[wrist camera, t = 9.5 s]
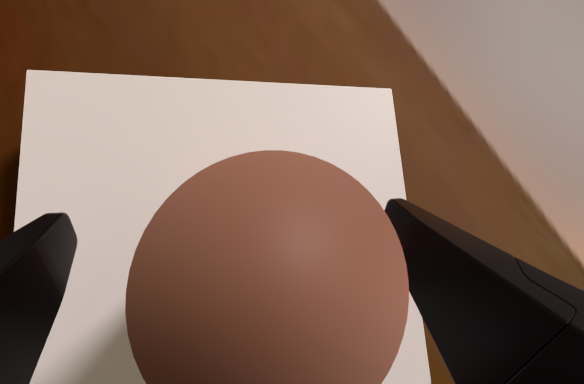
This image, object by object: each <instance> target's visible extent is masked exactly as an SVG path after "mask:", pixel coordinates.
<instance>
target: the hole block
mask: <svg viewBox="0 0 584 384" xmlns="http://www.w3.org/2000/svg"><path fill="white" fill-rule="evenodd" d="M264 150H283V151H291V152H298V153H302V154H306V155H310V156H314V157H317V158H319V159H321V160H324V161H326V162H329V163H331V164H333V165H335V166H336V167H338V168H340V169H342V170H344V171H345V172H346V173H348V174H349V175H351V176H352V177H353V178H355V179H356V180H357V181H359V182H360V183H361V184H362V185H363V186H364V187H365V188H366V189H367V190H368V191H369V192H370V193H371V194H372V195H373V197H374V198H375V199H376V200H377V201H378V202H379V204H380V205H381V207H382V208H383V210H385V207H386V204H387V202H388V201H389V200H390V199H395V198H402V199H404V200H406V194H405V186H404V179H403V172H402V164H401V157H400V149H399V142H398V134H397V127H396V120H395V112H394V105H393V97H392V90H391V89H385V88H366V87H347V86H327V85H308V84H289V83H270V82H251V81H232V80H213V79H193V78H174V77H155V76H136V75H117V74H98V73H79V72H59V71H40V70H27V76H26V88H25V100H24V113H23V125H22V137H21V149H20V162H19V174H18V186H17V199H16V211H15V223H14V232H15V231H16V230H18V229H20V228H21V227H23V226H25V225H27V224H28V223H30V222H32V221H33V220H35V219H37V218H39V217H40V216H42V215H44V214H46V213H58V212H64V213H66V214H67V215H68V216H69V218H70V220H71V223H72V225H73V228H74V230H75V233H76V235H77V248H76V252H75V256H74V259H73V263H72V267H71V271H70V275H69V279H68V283H67V286H66V290H65V294H64V297H63V300H62V303H61V306H60V308H59V311H58V313H57V316H56V318H55V321H54V323H53V326H52V328H51V331H50V333H49V336H48V338H47V341H46V343H45V346H44V348H43V351H42V353H41V356H40V358H39V361H38V363H37V366H36V368H35V371H34V373H33V376H32V378H31V381H30V383H29V384H146V382H145V381H144V379H143V377H142V375H141V373H140V371H139V368H138V366H137V364H136V361H135V359H134V357H133V353H132V349H131V345H130V342H129V338H128V332H127V324H126V315H125V306H126V288H127V281H128V275H129V270H130V266H131V263H132V260H133V256H134V253H135V250H136V248H137V245H138V243H139V241H140V239H141V237H142V234H143V232H144V230H145V229H146V227H147V225H148V224H149V222H150V220H151V219H152V217H153V216H154V214H155V213H156V211H157V210H158V209H159V208H160V206H161V205H162V204H163V203H164V201H165V200H166V199H167V198H168V197H169V196H170V195H171V194H172V193H173V192H174V191H175V190H176V189H177V188H178V187H179V186H180V185H181V184H183V183H184V182H185V181H187V180H188V179H189V178H191V177H192V176H193V175H195V174H196V173H198V172H199V171H201V170H203V169H205V168H207V167H208V166H210V165H212V164H214V163H216V162H219V161H221V160H224V159H226V158H229V157H232V156H236V155H240V154H244V153H248V152H255V151H264ZM382 384H431V379H430V372H429V364H428V357H427V349H426V342H425V335H424V327H423V320H422V316H421V314H420V312H419V310H418V308H417V306H416V304H415V302H414V300H413V298H412V296H411V294H410V292H409V305H408V316H407V322H406V327H405V331H404V336H403V339H402V342H401V345H400V348H399V351H398V354H397V356H396V358H395V360H394V362H393V365H392V367H391V369H390V371H389V373H388V374H387V376H386V377H385V379H384V381H383V382H382Z"/></svg>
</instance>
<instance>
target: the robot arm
mask: <svg viewBox="0 0 584 384" xmlns="http://www.w3.org/2000/svg"><path fill="white" fill-rule="evenodd" d="M384 211H385V213H386V214H387V216H388V217H389V219H390V221H391V223H392V225H393V227H394V229H395V231H396V233H397V235H398V238H399V241H400V244H401V246H402V249H403V253H404V257H405V261H406V266H407V273H408V281H409V292H410V294H411V296H412V298H413V300H414V302H415V304H416V306H417V308H418V310H419V312H420V314H421V316H422V318H423V320H424V322H425V324H426V326H427V328H428V330H429V332H430V334H431V336H432V338H433V340H434V342H435V344H436V346H437V348H438V350H439V352H440V354H441V357H442V359H443V361H444V363H445V365H446V367H447V369H448V371H449V373H450V375H451V377H452V379H453V381H454V383H455V384H584V291H583V290H581V289H579V288H577V287H575V286H573V285H571V284H568V283H566V282H564V281H562V280H560V279H558V278H556V277H554V276H552V275H550V274H548V273H546V272H544V271H542V270H540V269H538V268H536V267H534V266H532V265H530V264H528V263H526V262H524V261H522V260H520V259H518V258H516V257H513V256H512V255H510V254H508V253H507V252H505V251H503V250H501V249H499V248H497V247H495V246H493V245H491V244H489V243H487V242H485V241H483V240H481V239H480V238H478V237H476V236H474V235H472V234H470V233H468V232H466V231H464V230H462V229H460V228H458V227H456V226H454V225H453V224H451V223H449V222H447V221H445V220H443V219H441V218H439V217H437V216H435V215H433V214H431V213H429V212H428V211H426V210H424V209H422V208H420V207H418V206H416V205H414V204H412V203H410V202H408V201H406V200H404V199H402V198H395V199H390V200H389V201H388V202H387V204H386V207H385V210H384ZM76 248H77V235H76V233H75V230H74V228H73V225H72V223H71V220H70V218H69V216H68V215H67V214H66V213H64V212H58V213H46V214H44V215H42V216H40V217H39V218H37V219H35V220H33V221H32V222H30V223H28V224H27V225H25V226H23V227H21V228H20V229H18V230H16V231H15V232H13V233H11V234H9V235H8V236H6V237H4V238H2V239H1V240H0V384H29V383H30V381H31V378H32V376H33V373H34V371H35V368H36V366H37V363H38V361H39V358H40V356H41V353H42V351H43V348H44V346H45V343H46V341H47V338H48V336H49V333H50V331H51V328H52V326H53V323H54V321H55V318H56V316H57V313H58V311H59V308H60V306H61V303H62V300H63V297H64V294H65V290H66V286H67V283H68V279H69V275H70V271H71V267H72V263H73V259H74V256H75V252H76Z"/></svg>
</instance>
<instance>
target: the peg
mask: <svg viewBox="0 0 584 384" xmlns="http://www.w3.org/2000/svg"><path fill="white" fill-rule="evenodd" d="M408 305H409V281H408V273H407V266H406V261H405V257H404V253H403V249H402V246H401V244H400V241H399V238H398V235H397V233H396V231H395V229H394V227H393V225H392V223H391V221H390V219H389V217H388V216H387V214H386V213H385V211H384V210H383V208H382V207H381V205H380V204H379V202H378V201H377V200H376V199H375V198H374V197H373V195H372V194H371V193H370V192H369V191H368V190H367V189H366V188H365V187H364V186H363V185H362V184H361V183H360V182H359V181H357V180H356V179H355V178H353V177H352V176H351V175H349V174H348V173H346V172H345V171H344V170H342V169H340V168H338V167H336V166H335V165H333V164H331V163H329V162H326V161H324V160H321V159H319V158H317V157H314V156H310V155H306V154H302V153H298V152H291V151H283V150H264V151H255V152H248V153H244V154H240V155H236V156H232V157H229V158H226V159H224V160H221V161H219V162H216V163H214V164H212V165H210V166H208V167H207V168H205V169H203V170H201V171H199V172H198V173H196V174H195V175H193V176H192V177H191V178H189V179H188V180H187V181H185V182H184V183H183V184H181V185H180V186H179V187H178V188H177V189H176V190H175V191H174V192H173V193H172V194H171V195H170V196H169V197H168V198H167V199H166V200H165V201H164V203H163V204H162V205H161V206H160V208H159V209H158V210H157V211H156V213H155V214H154V216H153V217H152V219H151V220H150V222H149V224H148V225H147V227H146V229H145V230H144V232H143V234H142V237H141V239H140V241H139V243H138V245H137V248H136V250H135V253H134V256H133V260H132V263H131V266H130V270H129V275H128V281H127V288H126V306H125V315H126V324H127V332H128V338H129V342H130V345H131V349H132V353H133V357H134V359H135V361H136V364H137V366H138V368H139V371H140V373H141V375H142V377H143V379H144V381H145V382H146V384H382V382H383V381H384V379H385V377H386V376H387V374H388V373H389V371H390V369H391V367H392V365H393V362H394V360H395V358H396V356H397V354H398V351H399V348H400V345H401V342H402V339H403V336H404V331H405V327H406V322H407V316H408Z"/></svg>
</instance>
